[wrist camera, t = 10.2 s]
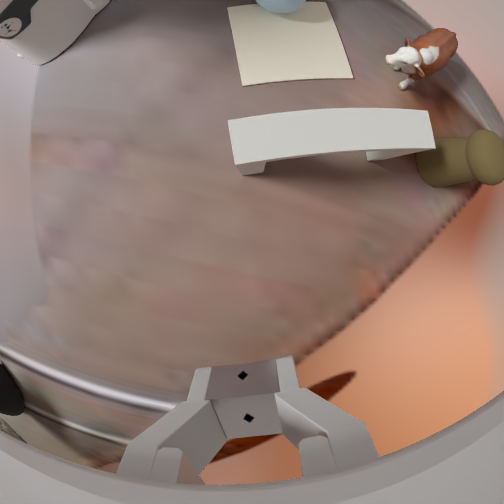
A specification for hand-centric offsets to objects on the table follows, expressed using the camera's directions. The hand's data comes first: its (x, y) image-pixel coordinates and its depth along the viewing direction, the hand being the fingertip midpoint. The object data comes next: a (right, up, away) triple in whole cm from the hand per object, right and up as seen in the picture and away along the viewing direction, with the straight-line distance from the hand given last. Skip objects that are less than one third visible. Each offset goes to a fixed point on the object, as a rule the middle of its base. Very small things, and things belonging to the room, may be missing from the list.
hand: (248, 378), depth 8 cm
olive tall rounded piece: (+22, +14, +17) cm, 31 cm away
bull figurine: (+19, +26, +15) cm, 35 cm away
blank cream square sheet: (+4, +28, +14) cm, 31 cm away
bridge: (+6, +14, +17) cm, 23 cm away
